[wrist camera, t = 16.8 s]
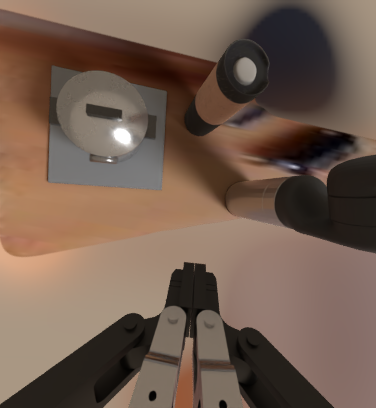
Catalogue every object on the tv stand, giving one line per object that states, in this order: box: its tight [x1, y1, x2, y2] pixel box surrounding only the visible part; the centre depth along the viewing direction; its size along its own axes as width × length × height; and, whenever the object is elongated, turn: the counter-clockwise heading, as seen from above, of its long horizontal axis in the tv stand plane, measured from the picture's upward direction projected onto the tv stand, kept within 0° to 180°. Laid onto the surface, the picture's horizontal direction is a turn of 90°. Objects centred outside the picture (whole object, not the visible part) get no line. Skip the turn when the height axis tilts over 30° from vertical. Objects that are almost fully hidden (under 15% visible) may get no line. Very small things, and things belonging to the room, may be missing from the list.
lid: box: [57, 71, 148, 164], centre depth 30 cm, size 13×14×2 cm
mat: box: [48, 66, 167, 190], centre depth 39 cm, size 22×22×1 cm
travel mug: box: [185, 39, 269, 136], centre depth 35 cm, size 8×8×20 cm
